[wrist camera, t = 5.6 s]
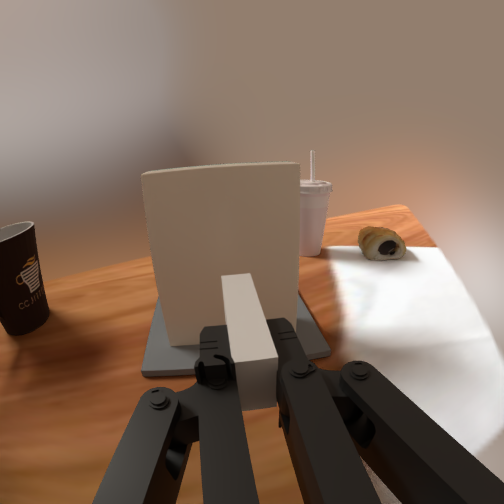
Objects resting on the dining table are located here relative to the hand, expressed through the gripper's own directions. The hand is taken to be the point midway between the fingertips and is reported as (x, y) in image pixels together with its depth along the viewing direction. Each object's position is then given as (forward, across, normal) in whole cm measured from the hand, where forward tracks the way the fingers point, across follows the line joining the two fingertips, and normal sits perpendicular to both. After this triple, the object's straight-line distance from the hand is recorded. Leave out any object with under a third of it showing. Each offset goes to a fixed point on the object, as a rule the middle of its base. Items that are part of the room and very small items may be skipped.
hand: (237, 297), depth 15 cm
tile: (+6, 0, -7) cm, 9 cm away
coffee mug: (+9, -24, -7) cm, 27 cm away
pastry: (+21, +22, -8) cm, 31 cm away
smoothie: (+23, +12, -7) cm, 27 cm away
